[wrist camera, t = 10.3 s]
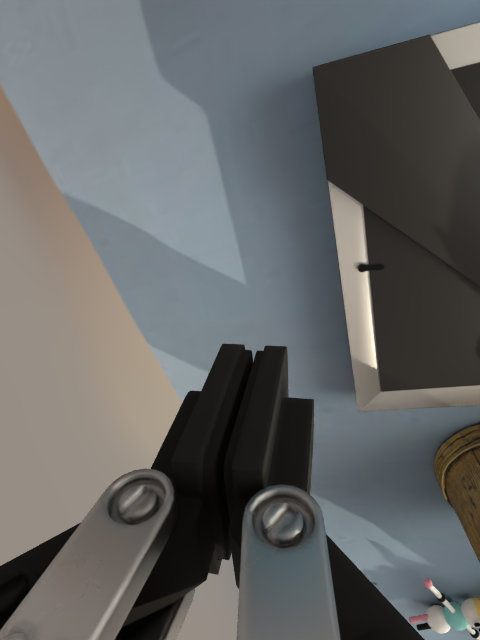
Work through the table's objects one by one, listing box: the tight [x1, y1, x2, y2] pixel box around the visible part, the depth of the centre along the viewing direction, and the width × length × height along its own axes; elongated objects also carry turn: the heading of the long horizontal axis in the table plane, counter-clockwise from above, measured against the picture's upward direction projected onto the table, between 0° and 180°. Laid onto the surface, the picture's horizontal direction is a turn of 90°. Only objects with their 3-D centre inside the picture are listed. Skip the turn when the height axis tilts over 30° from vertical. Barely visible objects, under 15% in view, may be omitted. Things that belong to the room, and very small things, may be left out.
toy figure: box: [409, 579, 480, 640], centre depth 38 cm, size 12×2×9 cm
